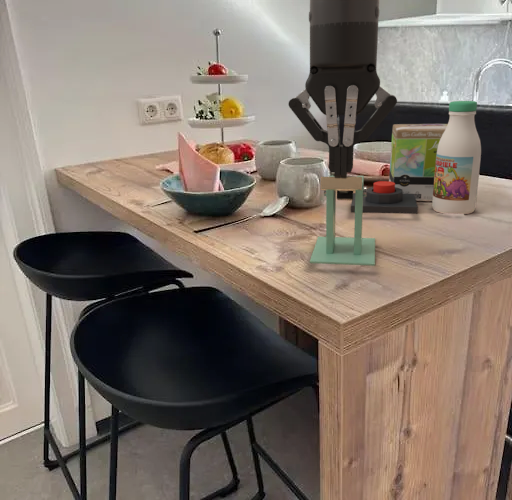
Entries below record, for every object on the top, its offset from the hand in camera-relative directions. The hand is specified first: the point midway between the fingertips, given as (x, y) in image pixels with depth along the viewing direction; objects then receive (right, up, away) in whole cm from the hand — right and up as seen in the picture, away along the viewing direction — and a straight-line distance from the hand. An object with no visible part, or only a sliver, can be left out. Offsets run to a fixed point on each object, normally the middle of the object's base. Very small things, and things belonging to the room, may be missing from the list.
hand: (340, 176), depth 61 cm
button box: (+14, -1, +36) cm, 39 cm away
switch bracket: (+3, -10, +14) cm, 17 cm away
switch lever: (+1, -2, +6) cm, 6 cm away
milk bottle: (+27, -2, +34) cm, 44 cm away
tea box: (+26, +2, +44) cm, 51 cm away
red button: (+14, +2, +35) cm, 38 cm away
